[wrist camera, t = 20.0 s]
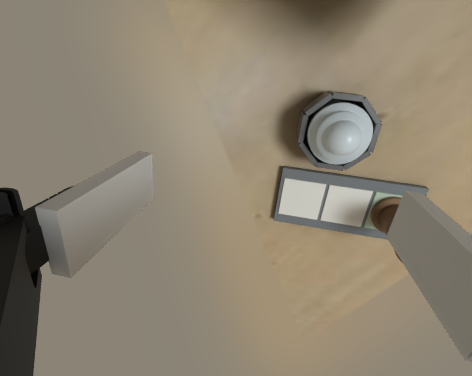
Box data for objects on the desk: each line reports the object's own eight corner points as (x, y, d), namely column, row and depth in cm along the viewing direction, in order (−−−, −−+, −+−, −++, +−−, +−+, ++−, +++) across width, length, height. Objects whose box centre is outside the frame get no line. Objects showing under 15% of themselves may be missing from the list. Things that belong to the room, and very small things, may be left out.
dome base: (305, 88, 34) (308, 90, 30) (377, 96, 33) (390, 99, 29) (292, 154, 38) (293, 163, 34) (356, 162, 37) (365, 174, 33)
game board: (283, 166, 39) (283, 168, 38) (425, 186, 36) (429, 189, 36) (273, 217, 42) (273, 221, 41) (402, 239, 40) (405, 243, 39)
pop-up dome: (313, 98, 31) (319, 102, 26) (375, 105, 30) (394, 111, 25) (301, 155, 34) (304, 169, 29) (358, 163, 33) (371, 178, 28)
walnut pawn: (377, 193, 37) (411, 235, 27) (418, 199, 36) (468, 245, 27) (365, 226, 39) (392, 276, 30) (404, 233, 39) (445, 286, 29)
